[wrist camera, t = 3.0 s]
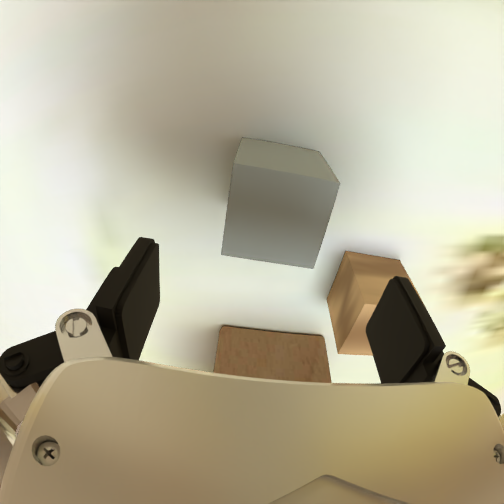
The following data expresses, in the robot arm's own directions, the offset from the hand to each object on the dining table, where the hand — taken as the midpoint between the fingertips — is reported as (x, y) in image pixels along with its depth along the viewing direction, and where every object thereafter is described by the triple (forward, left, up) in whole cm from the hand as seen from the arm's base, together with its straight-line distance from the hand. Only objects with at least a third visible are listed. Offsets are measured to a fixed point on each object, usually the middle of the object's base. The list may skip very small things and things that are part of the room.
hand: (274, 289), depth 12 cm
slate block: (-1, 0, -10) cm, 10 cm away
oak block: (+6, +9, -10) cm, 15 cm away
